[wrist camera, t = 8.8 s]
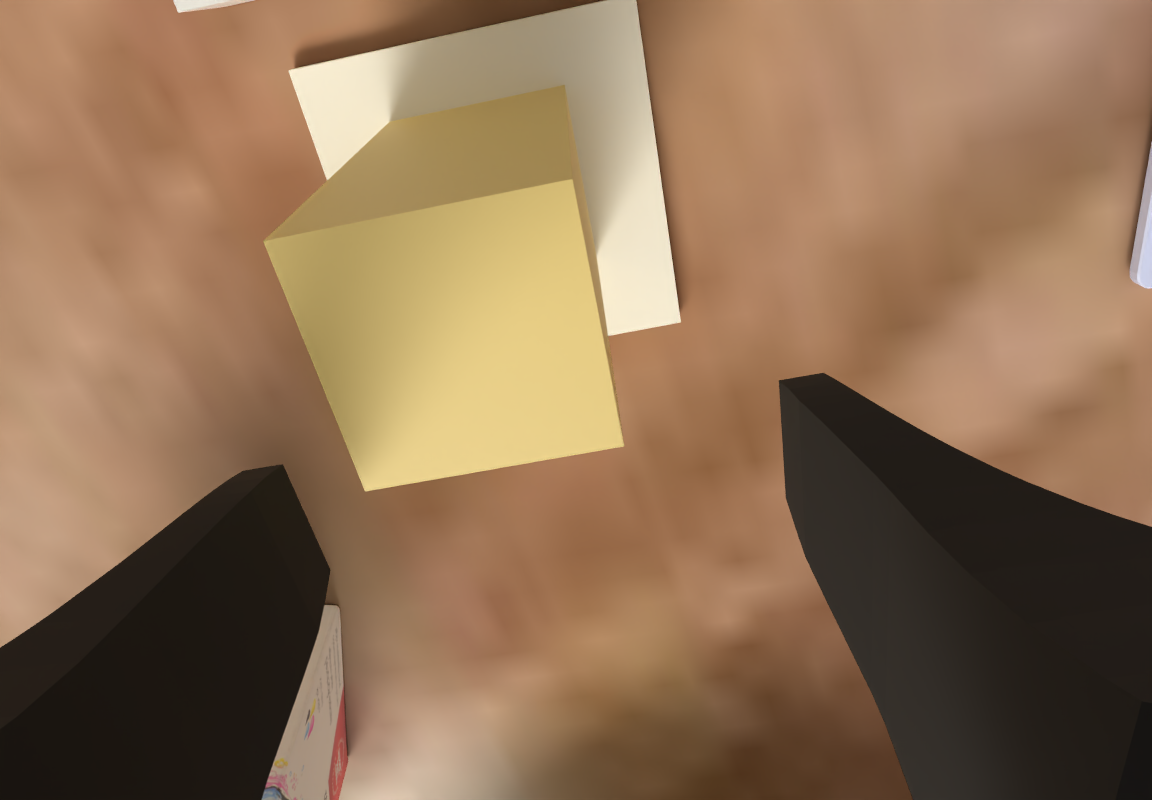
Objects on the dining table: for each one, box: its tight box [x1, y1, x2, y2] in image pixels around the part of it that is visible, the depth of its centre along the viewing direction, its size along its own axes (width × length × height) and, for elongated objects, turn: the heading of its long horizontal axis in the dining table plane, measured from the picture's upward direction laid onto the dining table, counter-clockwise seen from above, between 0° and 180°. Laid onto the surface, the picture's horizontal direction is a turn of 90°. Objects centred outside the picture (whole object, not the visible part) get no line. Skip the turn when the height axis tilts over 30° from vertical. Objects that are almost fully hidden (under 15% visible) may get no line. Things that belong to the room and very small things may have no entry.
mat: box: [289, 0, 681, 336], centre depth 19 cm, size 8×8×1 cm
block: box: [263, 85, 624, 491], centre depth 15 cm, size 4×4×9 cm
